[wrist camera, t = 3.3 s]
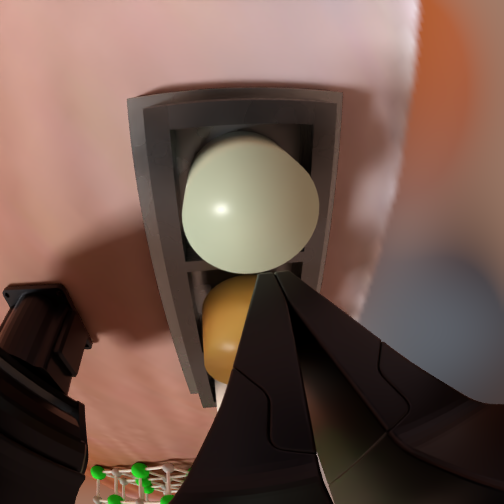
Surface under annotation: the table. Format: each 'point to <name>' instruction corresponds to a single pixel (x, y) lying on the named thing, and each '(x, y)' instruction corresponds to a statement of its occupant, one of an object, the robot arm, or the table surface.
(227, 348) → the amber button
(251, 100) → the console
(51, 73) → the table surface
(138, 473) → the molecular structure model
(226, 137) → the sage button
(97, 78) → the table surface
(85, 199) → the table surface
